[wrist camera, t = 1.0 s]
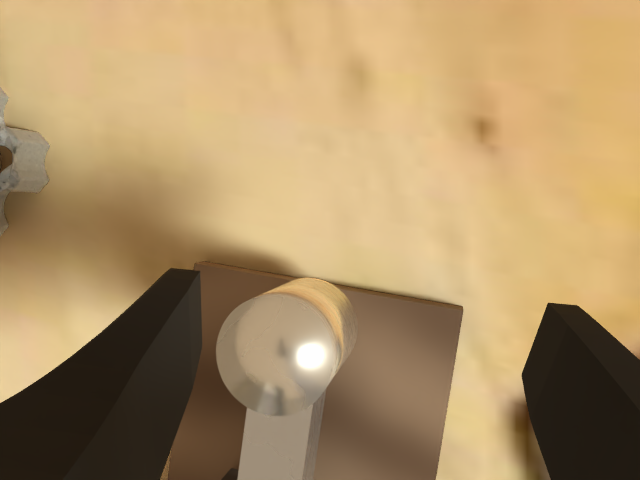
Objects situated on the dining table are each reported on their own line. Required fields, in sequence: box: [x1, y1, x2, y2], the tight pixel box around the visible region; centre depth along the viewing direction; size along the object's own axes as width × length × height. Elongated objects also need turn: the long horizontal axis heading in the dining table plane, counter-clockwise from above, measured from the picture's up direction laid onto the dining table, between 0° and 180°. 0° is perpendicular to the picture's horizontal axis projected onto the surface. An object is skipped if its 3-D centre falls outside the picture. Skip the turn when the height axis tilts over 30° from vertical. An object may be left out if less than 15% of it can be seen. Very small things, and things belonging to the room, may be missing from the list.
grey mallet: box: [216, 278, 358, 480], centre depth 22 cm, size 14×4×5 cm, turn 172°
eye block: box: [168, 261, 463, 480], centre depth 24 cm, size 12×12×7 cm
